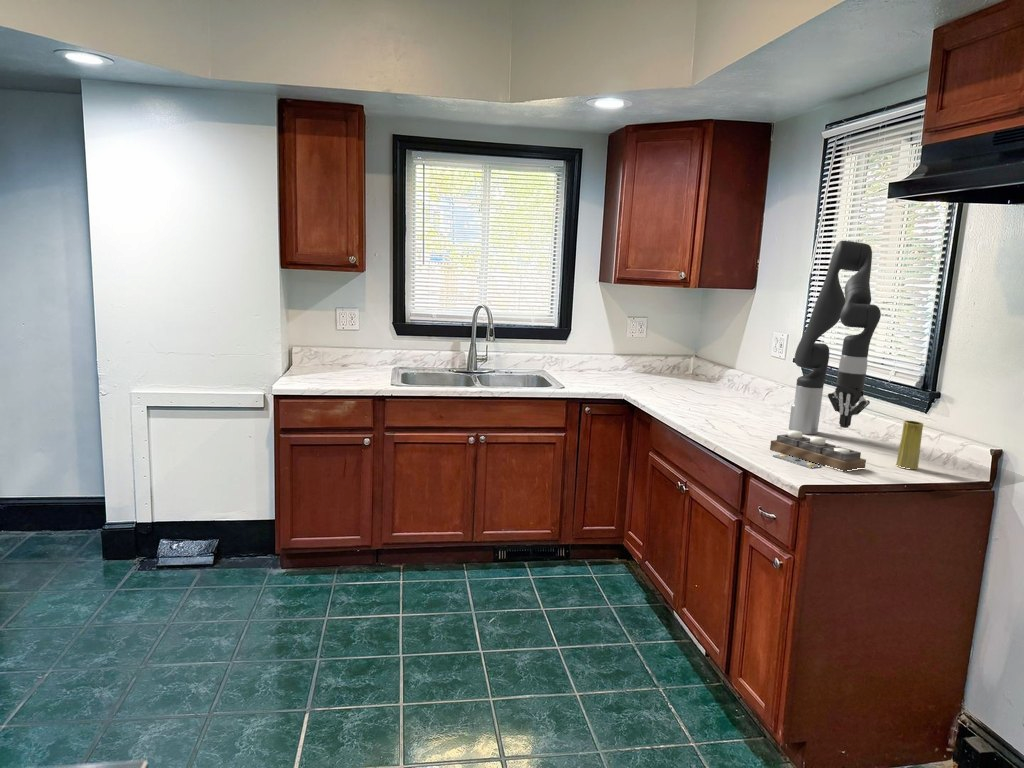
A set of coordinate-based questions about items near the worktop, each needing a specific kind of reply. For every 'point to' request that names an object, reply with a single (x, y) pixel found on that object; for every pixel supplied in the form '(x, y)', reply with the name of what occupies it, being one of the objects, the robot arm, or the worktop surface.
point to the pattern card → (796, 460)
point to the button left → (794, 434)
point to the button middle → (817, 441)
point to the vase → (910, 445)
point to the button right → (842, 450)
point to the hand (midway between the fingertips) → (844, 427)
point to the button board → (818, 453)
